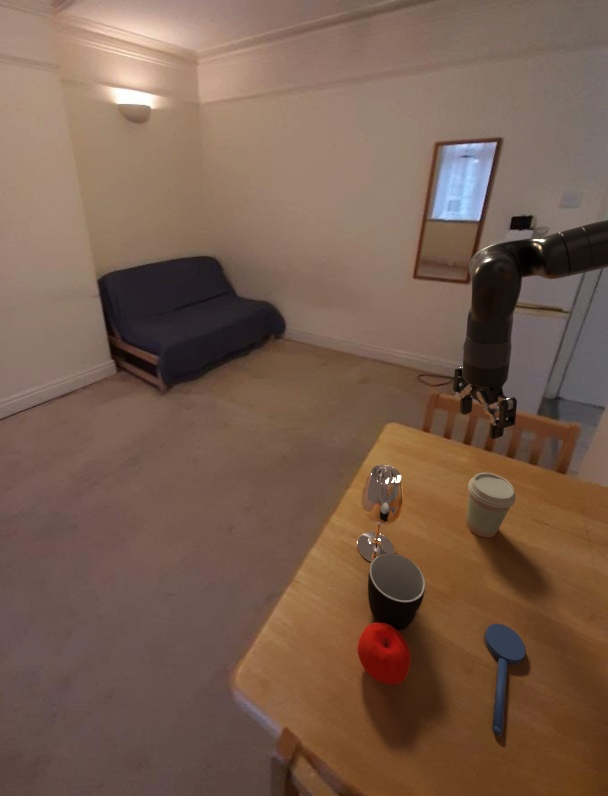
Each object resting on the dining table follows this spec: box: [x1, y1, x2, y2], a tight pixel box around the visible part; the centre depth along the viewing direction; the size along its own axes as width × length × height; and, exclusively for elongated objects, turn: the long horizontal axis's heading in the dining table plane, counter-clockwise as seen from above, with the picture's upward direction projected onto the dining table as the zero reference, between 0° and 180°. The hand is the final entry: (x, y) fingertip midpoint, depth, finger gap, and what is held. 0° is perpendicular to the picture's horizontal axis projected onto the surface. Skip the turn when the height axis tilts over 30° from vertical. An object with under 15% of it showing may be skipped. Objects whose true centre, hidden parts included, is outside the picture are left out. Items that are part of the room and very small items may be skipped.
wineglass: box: [356, 464, 405, 563], centre depth 80 cm, size 8×8×20 cm
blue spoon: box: [483, 623, 527, 737], centre depth 62 cm, size 16×6×1 cm, turn 147°
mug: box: [367, 552, 426, 632], centre depth 71 cm, size 12×9×10 cm
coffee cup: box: [465, 471, 516, 538], centre depth 85 cm, size 8×8×12 cm
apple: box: [357, 622, 411, 685], centre depth 63 cm, size 8×8×7 cm
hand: (479, 424), depth 82 cm, fingers open, 8 cm apart
